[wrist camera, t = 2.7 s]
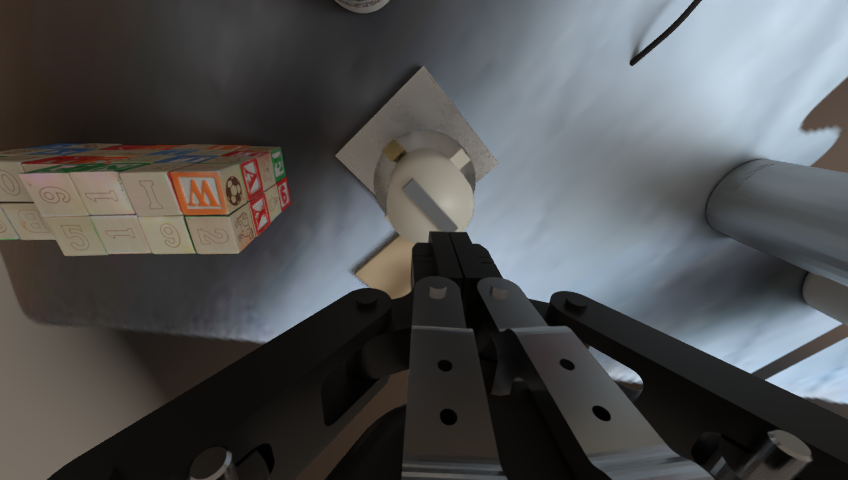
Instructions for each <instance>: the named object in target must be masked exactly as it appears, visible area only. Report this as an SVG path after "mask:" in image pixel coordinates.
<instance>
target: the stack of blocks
mask: <svg viewBox="0 0 848 480" xmlns="http://www.w3.org/2000/svg"><path fill="white" fill-rule="evenodd" d="M290 204H291V201H290V194H289V189H288V183H287V178H286V174H285V168H284V162H283V156H282V149H281V147H263V146H249V145H209V144H188V145H155V146H149V145H123V144H100V143H89V144H63V143H59V144H51V145H45V146H37V147H29V148H24V149H14V150H7V151H0V240H16V239H22V240H56V241H57V243H58V245H59V246H60V248H61V250H62V252H63V254H64V255H65V256H84V255H108V254H132V253H136V254H138V253H154V254H191V253H198V254H237V253H239V252H241V251H242V250H243V249H244V248H245V247H246V246H247V245H248V244H249V243H250V242H251V241H252V240H253V239H254V238H255V237H257V236H259V235H260V234H261V233H262V232H263V231H264V230H265V229H266V228H267V227H268V226H269V225H270V224H271V222H272V221H273V220H274V219H275V218H276V217H277V216H278V215H279V214H280V213H281V212H283V211H284V210H285V209H286V208H287V207H288V206H289V205H290Z"/></svg>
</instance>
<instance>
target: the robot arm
mask: <svg viewBox="0 0 848 480" xmlns="http://www.w3.org/2000/svg"><path fill="white" fill-rule="evenodd" d="M706 215H707V220H708V222H709V224H710V226H711V227H712V228H713V229H715V230H717V231H719V232H721V233H724V234H726V235H728V236H730V237H731V238H732V239H734V240H737V241H739V242H741V243H744V244H746V245H748V246H751V247H753V248H755V249H757V250H760V251H762V252H764V253H767V254H769V255H771V256H774V257H776V258H778V259H781V260H783V261H785V262H788V263H790V264H792V265H795V266H797V267H799V268H802V269H804V270H806V271H809V272H811V273H813V274H816V275H818V276H824V277H826V278H829V279H831V280H833V281H836V282H838V283H840V284H843V285H845V286H847V287H848V173H843V172H838V171H832V170H826V169H820V168H814V167H809V166H803V165H798V164H792V163H786V162H780V161H774V160H769V159H759V160H755V161H751V162H748V163H746V164H743V165H741V166H739V167H738V168H736V169H734V170H733V171H732V172H730V173H729V174H728V175H727V176H725V178H724V179H723V180H722V181H721V182H720V183H719V184H718V185H717V187H716V188H715V189H714V191H713V193H712V194H711V196H710V198H709V201H708V204H707V211H706ZM410 283H411V292H410V293H408V294H407V295H405V296H403V297H400V298H396V299H391V297H390V296H389V295H388V294H387V293H386V292H384V291H382V290H379V289H375V288H362V289H358V290H354V291H352V292H350V293H348V294H347V295H345V296H343V297H342V298H340V299H338V300H337V301H335V302H333V303H332V304H330V305H328V306H327V307H325V308H323V309H322V310H320V311H319V312H317V313H315V314H314V315H312V316H310V317H309V318H307V319H305V320H304V321H302V322H300V323H299V324H297V325H295V326H294V327H292V328H290V329H289V330H287V331H285V332H284V333H282V334H281V335H279V336H277V337H276V338H274V339H272V340H271V341H269V342H267V343H266V344H264V345H262V346H261V347H259V348H257V349H256V350H254V351H252V352H251V353H249V354H247V355H246V356H244V357H242V358H241V359H239V360H238V361H236V362H234V363H233V364H231V365H229V366H228V367H226V368H224V369H223V370H221V371H219V372H218V373H216V374H215V375H213V376H211V377H210V378H208V379H206V380H204V381H203V382H201V383H200V384H198V385H196V386H195V387H193V388H191V389H190V390H188V391H186V392H185V393H183V394H181V395H180V396H178V397H176V398H175V399H173V400H171V401H170V402H168V403H166V404H165V405H163V406H162V407H160V408H158V409H157V410H155V411H153V412H152V413H150V414H148V415H147V416H145V417H143V418H142V419H140V420H139V421H137V422H135V423H133V424H132V425H130V426H129V427H127V428H125V429H123V430H122V431H120V432H119V433H117V434H115V435H114V436H112V437H110V438H109V439H107V440H105V441H104V442H102V443H100V444H99V445H97V446H95V447H94V448H92V449H90V450H89V451H87V452H86V453H84V454H82V455H81V456H79V457H77V458H76V459H74V460H72V461H71V462H69V463H68V464H66V465H65V466H63V467H62V468H61V469H59V470H58V471H57V472H55V473H54V474H53V475H52V476H51V477H49V478H48V479H47V480H295V478H296V477H297V476H298V475H299V474H300V473H301V472H302V471H303V470H304V469H305V468H306V467H307V466H308V465H309V464H310V463H311V462H312V461H313V460H314V459H315V458H316V457H317V456H318V454H320V452H321V451H322V450H323V449H324V448H325V447H326V446H327V445H328V444H329V443H330V442H331V441H332V440H333V439H334V438H335V437H336V436H337V435H338V434H339V433H340V432H341V431H342V430H343V429H344V427H346V425H347V424H348V423H349V422H350V421H351V420H352V419H353V418H354V417H355V416H356V415H357V414H358V413H359V412H360V411H361V410H362V409H363V408H364V407H365V406H366V405H367V404H368V403H369V402H370V401H371V399H372V398H373V397H374V396H375V395H376V394H377V393H378V392H379V391H380V390H381V389H382V388H383V387H384V386H385V385H386V384H387V382H388V380H389V378H390V375H391V374H394V373H397V372H400V371H404V370H407V369H409V375H408V390H407V404H404V405H402V406H399V407H397V408H395V409H393V410H391V411H389V412H388V413H386V414H385V415H383V416H382V417H380V418H379V419H378V420H376V421H375V422H374V423H373V424H372V425H371V426H370V427H369V428H368V429H367V430H366V431H365V432H364V433H363V434H362V435H361V437H360V438H359V439H358V440H357V441H356V442H355V444H354V445H353V446H352V447H351V449H350V450H349V451H348V452H347V453H346V455H345V456H344V457H343V458H342V459H341V461H340V462H339V463H338V464H337V465H336V467H335V468H334V469H333V470H332V472H331V473H330V474H329V475H328V476H327V477H326V479H325V480H848V419H846V418H844V417H841V416H840V415H837V414H835V413H833V412H831V411H829V410H827V409H825V408H822V407H820V406H818V405H816V404H814V403H812V402H809V401H808V400H805V399H803V398H801V397H799V396H797V395H795V394H793V393H790V392H788V391H786V390H784V389H782V388H780V387H778V386H776V385H773V384H771V383H769V382H767V381H765V380H763V379H760V378H758V377H756V376H754V375H752V374H750V373H748V372H746V371H744V370H741V369H739V368H737V367H735V366H733V365H731V364H729V363H726V362H724V361H722V360H720V359H718V358H716V357H714V356H712V355H709V354H707V353H705V352H703V351H701V350H699V349H697V348H694V347H692V346H690V345H688V344H686V343H684V342H682V341H680V340H677V339H675V338H673V337H671V336H669V335H667V334H665V333H662V332H660V331H658V330H656V329H654V328H652V327H650V326H648V325H645V324H643V323H641V322H639V321H637V320H635V319H633V318H630V317H628V316H626V315H624V314H622V313H620V312H618V311H616V310H613V309H611V308H609V307H607V306H605V305H603V304H601V303H598V302H596V301H594V300H592V299H590V298H588V297H586V296H583V295H581V294H578V293H574V292H569V291H560V292H556V293H554V294H553V295H552V296H551V298H550V302H549V303H546V302H541V301H536V300H532V299H528V298H527V297H526V295H525V294H524V293H523V291H522V290H521V289H520V287H519V286H518V285H516V284H515V283H513V282H511V281H509V280H507V279H503V277H502V276H501V274H500V272H499V270H498V268H497V267H496V265H495V264H494V261H493V259H492V258H491V256H490V254H489V252H488V250H487V249H485V248H484V247H483V246H481V245H480V244H472V242H471V240H470V238H469V236H468V234H467V232H446V231H429V238H428V243H422V242H417V243H416V244H415V245H414V246H413V248H412V258H411V278H410ZM590 346H592V347H593V348H595V349H597V350H599V351H600V352H602V353H604V354H606V355H607V356H609V357H611V358H613V359H614V360H616V361H618V362H620V363H622V364H623V365H625V366H627V367H629V368H630V369H632V370H634V371H635V372H636V373H637V374H638V375H639V376H640V377H641V379H642V381H643V384H644V388H643V389H642V390H640V391H633V390H630V389H628V388H626V387H624V386H623V385H621V384H619V383H618V382H616V381H614V380H613V379H612V378H611V377H610V376H609V374H608V373H607V372H606V371H605V370H604V368H603V367H602V366H601V365H600V364H599V362H598V361H597V360H596V359H595V358H594V356H593V355H592V354H591V353H590V352H589V350H588V349H589V347H590Z"/></svg>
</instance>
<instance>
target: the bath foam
mask: <svg viewBox="0 0 848 480" xmlns="http://www.w3.org/2000/svg"><path fill="white" fill-rule="evenodd" d="M335 1H336V2H337V3H338V4H339V5H341V6H342V7H344V8H346V9H347V10H350V11H352V12H356V13H370V12H374V11H376V10H379V9H380V8H382V7H383V6H384V5H386V4H387V3H388V2H389V1H390V0H335Z"/></svg>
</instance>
